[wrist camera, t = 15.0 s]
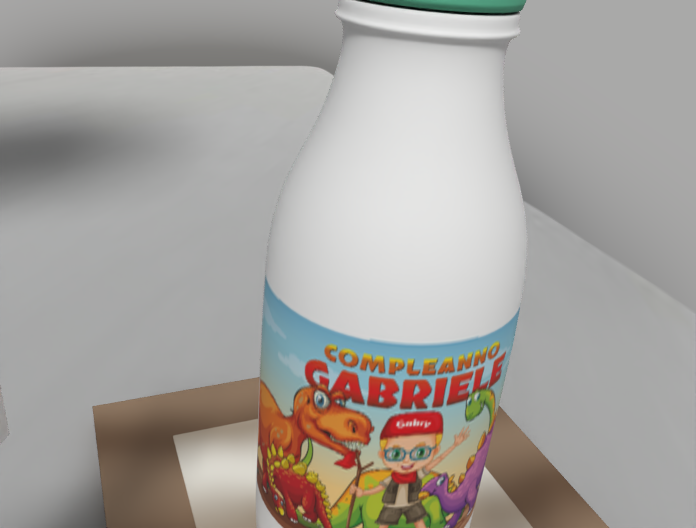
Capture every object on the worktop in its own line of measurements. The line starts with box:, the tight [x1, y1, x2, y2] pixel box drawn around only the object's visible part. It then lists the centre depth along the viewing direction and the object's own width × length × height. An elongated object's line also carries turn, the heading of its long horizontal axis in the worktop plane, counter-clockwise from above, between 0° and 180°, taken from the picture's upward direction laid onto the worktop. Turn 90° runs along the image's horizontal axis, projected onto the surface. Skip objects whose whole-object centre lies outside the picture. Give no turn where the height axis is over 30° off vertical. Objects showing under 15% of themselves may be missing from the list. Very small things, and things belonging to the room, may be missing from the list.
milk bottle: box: [256, 0, 527, 528], centre depth 20 cm, size 8×8×20 cm
